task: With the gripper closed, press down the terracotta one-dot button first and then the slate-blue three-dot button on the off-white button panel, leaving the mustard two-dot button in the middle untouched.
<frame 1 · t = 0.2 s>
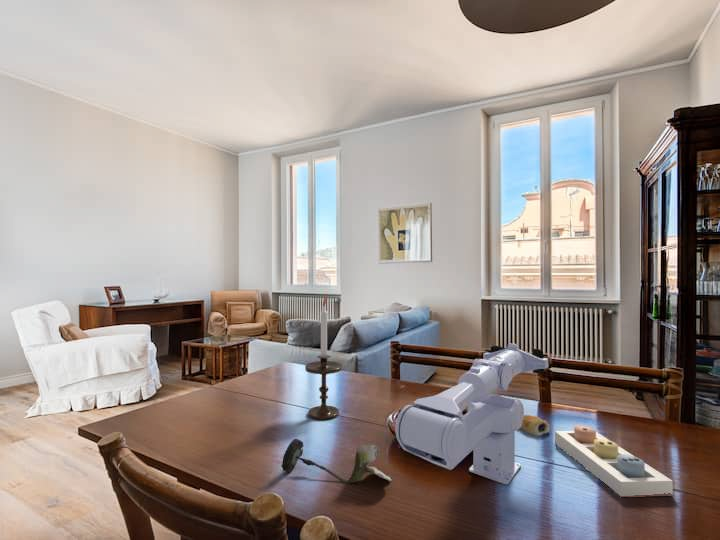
hand: (525, 353, 94), 21 cm above the table, tool horizontal, fingers open, 7 cm apart
artificial flower: (339, 477, 77), on the table
mustard button: (605, 449, 80), point 4 cm above the table, slide at 0.0 cm
button panel: (605, 466, 80), on the table
candlestick: (323, 414, 109), on the table
slate button: (630, 466, 73), point 4 cm above the table, slide at 0.0 cm
terracotta button: (584, 435, 87), point 4 cm above the table, slide at 0.0 cm
pastry: (530, 430, 100), on the table
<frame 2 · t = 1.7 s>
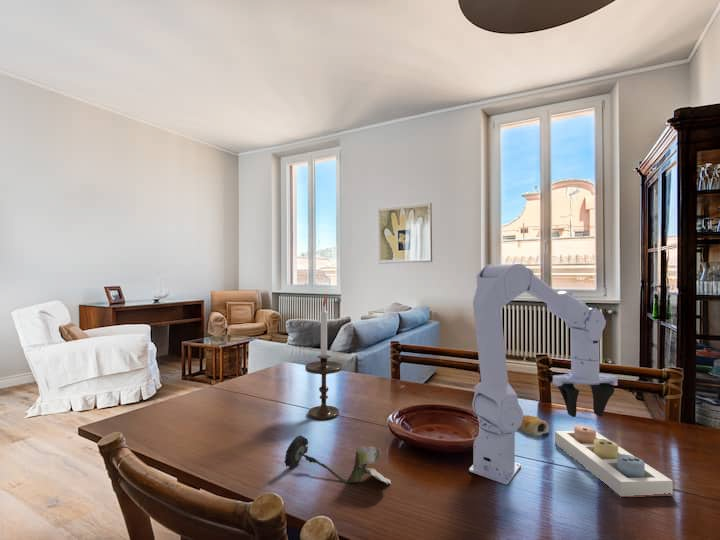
hand: (584, 415, 87), 8 cm above the table, tool pointing down, fingers open, 6 cm apart
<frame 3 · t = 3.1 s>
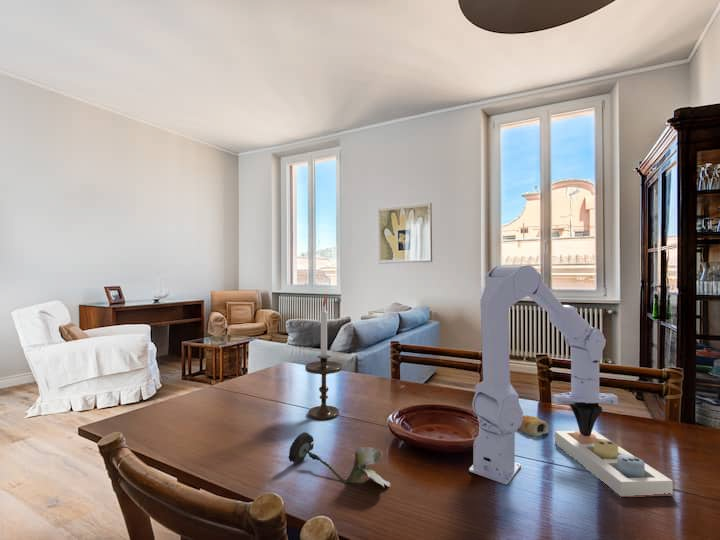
hand: (585, 434, 87), 4 cm above the table, tool pointing down, fingers closed, pressing on terracotta button
terracotta button: (584, 440, 87), point 2 cm above the table, slide at 1.3 cm, touching gripper
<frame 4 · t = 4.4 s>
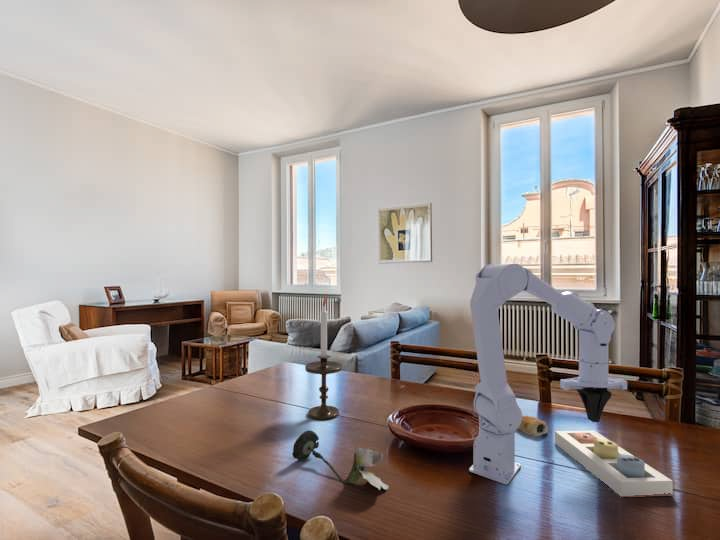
hand: (593, 420, 84), 8 cm above the table, tool pointing down, fingers closed
terracotta button: (584, 442, 87), point 2 cm above the table, slide at 1.7 cm
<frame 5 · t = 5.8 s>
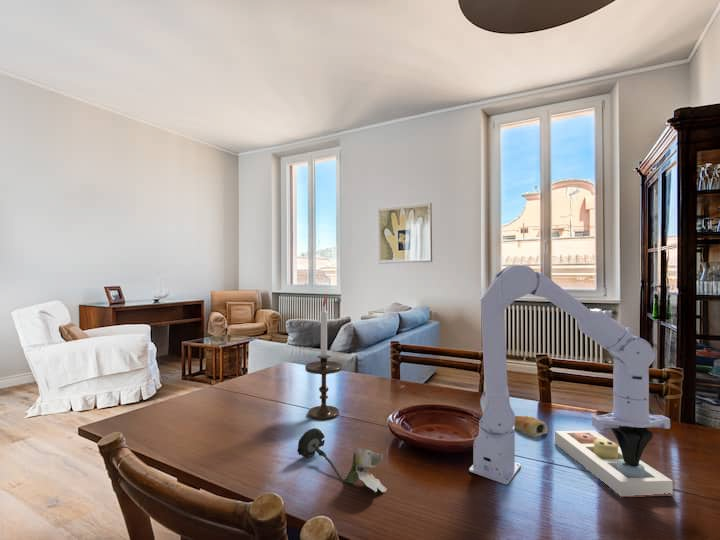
hand: (630, 463, 73), 4 cm above the table, tool pointing down, fingers closed, pressing on slate button
slate button: (630, 471, 73), point 3 cm above the table, slide at 1.0 cm, touching gripper
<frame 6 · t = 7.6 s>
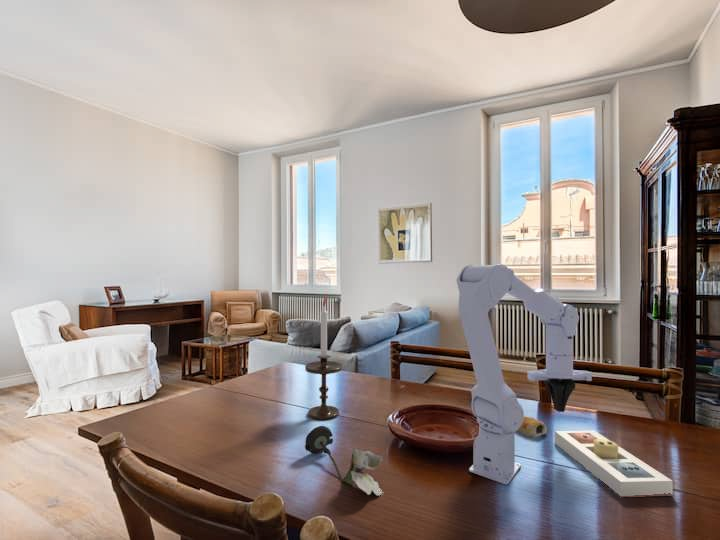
hand: (559, 410, 88), 9 cm above the table, tool pointing down, fingers closed
slate button: (630, 475, 73), point 2 cm above the table, slide at 1.7 cm
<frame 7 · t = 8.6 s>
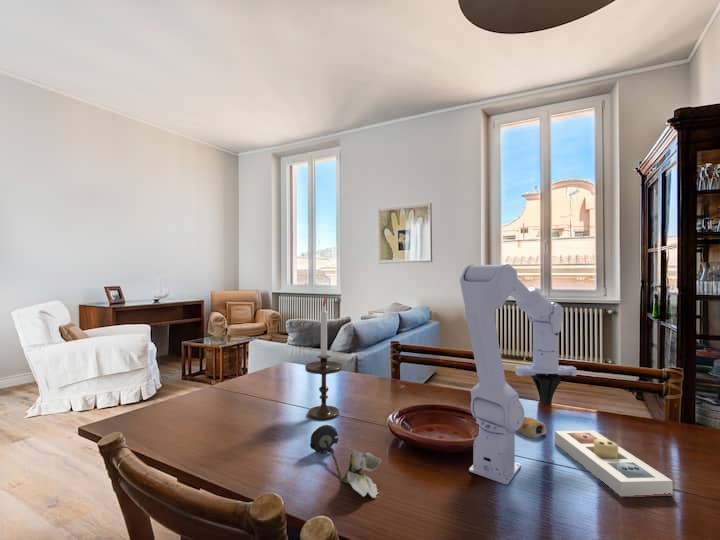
hand: (545, 404, 92), 9 cm above the table, tool pointing down, fingers closed
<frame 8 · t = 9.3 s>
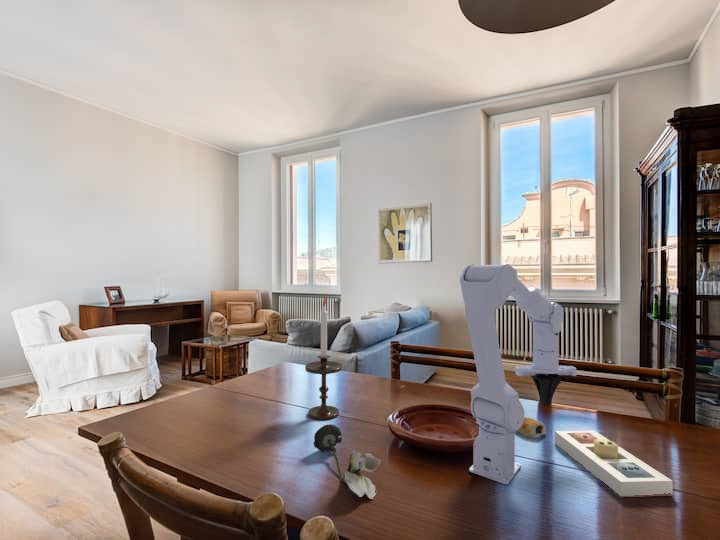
hand: (545, 404, 92), 9 cm above the table, tool pointing down, fingers closed
at the end: terracotta button slide at 1.7 cm; slate button slide at 1.7 cm; mustard button slide at 0.0 cm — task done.
